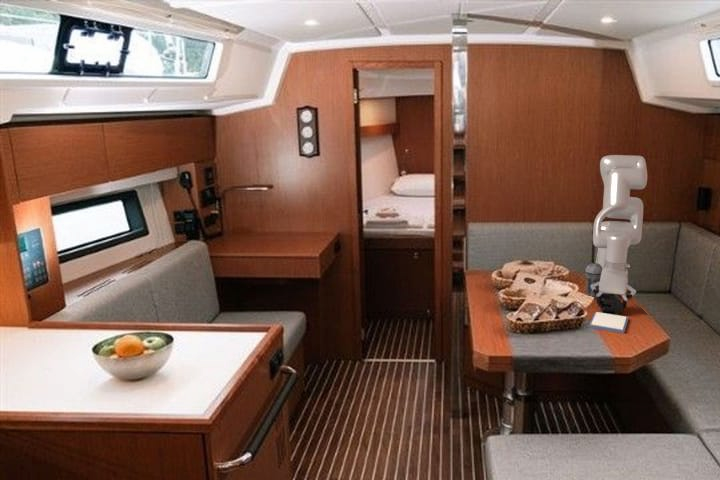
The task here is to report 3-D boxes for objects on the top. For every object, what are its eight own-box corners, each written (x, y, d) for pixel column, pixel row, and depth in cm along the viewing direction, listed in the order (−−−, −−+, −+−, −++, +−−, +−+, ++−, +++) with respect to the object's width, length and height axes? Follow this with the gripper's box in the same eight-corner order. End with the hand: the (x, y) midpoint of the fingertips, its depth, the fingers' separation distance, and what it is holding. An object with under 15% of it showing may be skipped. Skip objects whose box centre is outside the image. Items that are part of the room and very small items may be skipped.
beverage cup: (578, 296, 251) (583, 251, 247) (591, 294, 254) (595, 250, 250) (592, 301, 245) (596, 255, 240) (604, 299, 248) (609, 253, 243)
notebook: (594, 314, 230) (595, 311, 230) (628, 319, 224) (628, 316, 224) (588, 327, 216) (589, 324, 216) (624, 333, 210) (624, 330, 210)
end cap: (622, 316, 228) (624, 300, 226) (602, 315, 230) (604, 298, 228) (617, 308, 237) (619, 292, 236) (599, 306, 239) (600, 291, 238)
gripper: (640, 266, 228) (635, 308, 232) (593, 260, 236) (589, 301, 240) (638, 270, 222) (634, 313, 226) (590, 264, 230) (586, 306, 234)
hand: (611, 307), depth 233 cm, fingers closed on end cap, 8 cm apart
